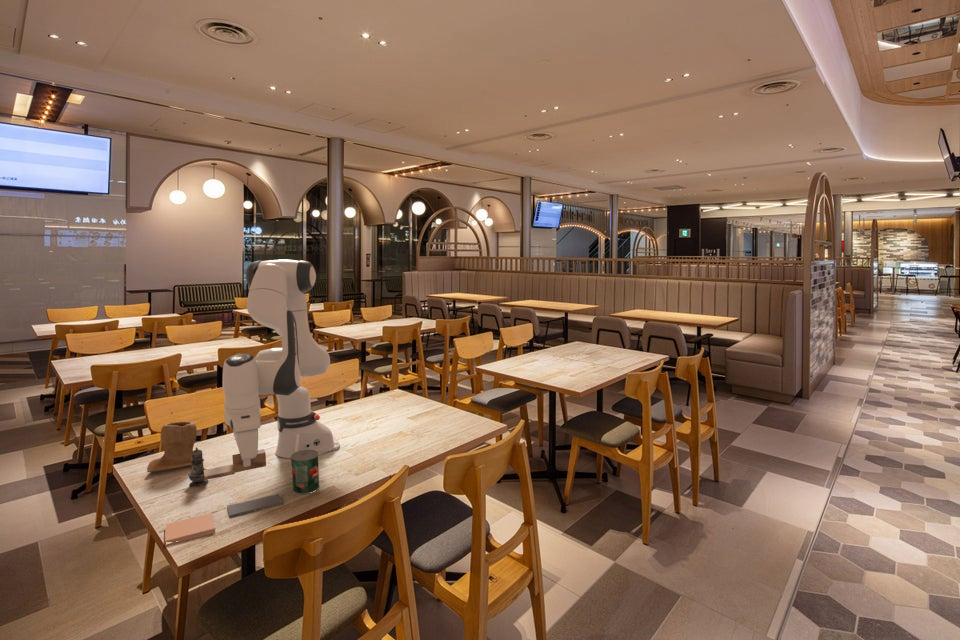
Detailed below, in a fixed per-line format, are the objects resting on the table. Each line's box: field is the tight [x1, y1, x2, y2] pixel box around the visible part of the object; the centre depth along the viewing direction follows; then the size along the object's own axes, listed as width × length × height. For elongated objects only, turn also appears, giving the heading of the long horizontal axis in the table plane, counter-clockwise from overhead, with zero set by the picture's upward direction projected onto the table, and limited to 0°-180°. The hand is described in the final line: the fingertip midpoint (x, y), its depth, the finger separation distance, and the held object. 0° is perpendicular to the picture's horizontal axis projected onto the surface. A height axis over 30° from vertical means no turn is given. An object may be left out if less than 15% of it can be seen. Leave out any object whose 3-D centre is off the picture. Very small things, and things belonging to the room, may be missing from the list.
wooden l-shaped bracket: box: [204, 448, 267, 481], centre depth 133 cm, size 15×4×4 cm, turn 122°
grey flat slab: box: [227, 493, 284, 518], centre depth 141 cm, size 14×6×1 cm, turn 123°
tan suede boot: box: [146, 421, 197, 473], centre depth 166 cm, size 15×12×15 cm
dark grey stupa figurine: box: [187, 447, 209, 488], centre depth 153 cm, size 6×6×12 cm
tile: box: [164, 512, 216, 543], centre depth 128 cm, size 2×9×11 cm
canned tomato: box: [290, 450, 320, 495], centre depth 151 cm, size 8×8×11 cm
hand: (245, 462), depth 134 cm, fingers closed on wooden l-shaped bracket, 3 cm apart
